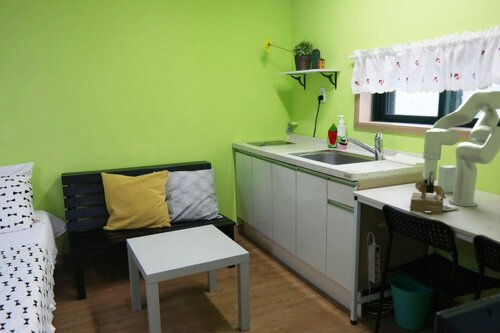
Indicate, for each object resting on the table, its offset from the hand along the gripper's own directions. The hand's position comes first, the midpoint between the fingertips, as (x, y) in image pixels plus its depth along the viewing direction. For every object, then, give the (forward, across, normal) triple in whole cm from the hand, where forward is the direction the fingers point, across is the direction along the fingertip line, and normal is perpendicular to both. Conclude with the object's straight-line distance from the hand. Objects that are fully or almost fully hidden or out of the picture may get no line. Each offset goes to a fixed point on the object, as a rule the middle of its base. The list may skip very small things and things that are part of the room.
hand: (428, 190), depth 188 cm
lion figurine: (+4, +1, 0) cm, 4 cm away
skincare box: (+10, -39, +15) cm, 43 cm away
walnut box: (+10, 0, 0) cm, 10 cm away
